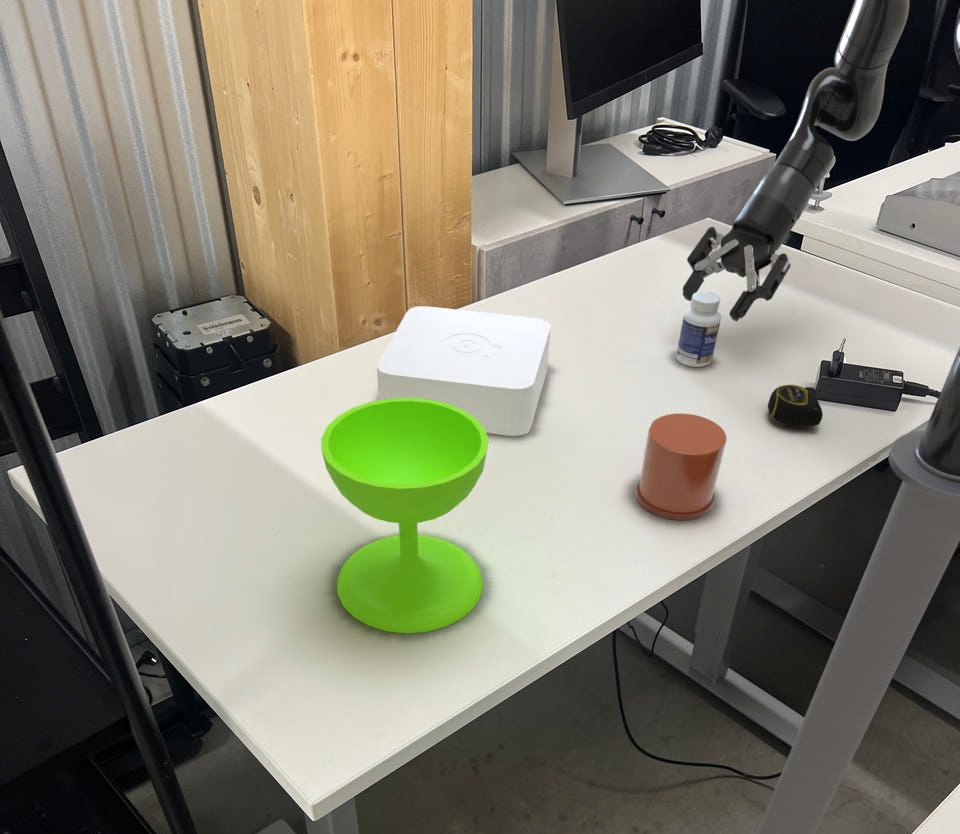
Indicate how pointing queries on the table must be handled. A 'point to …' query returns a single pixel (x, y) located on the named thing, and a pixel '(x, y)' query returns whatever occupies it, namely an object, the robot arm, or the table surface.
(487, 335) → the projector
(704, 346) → the pill bottle
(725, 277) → the table surface
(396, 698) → the table surface
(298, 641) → the table surface
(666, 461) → the tumbler
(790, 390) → the tape measure
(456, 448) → the wineglass
